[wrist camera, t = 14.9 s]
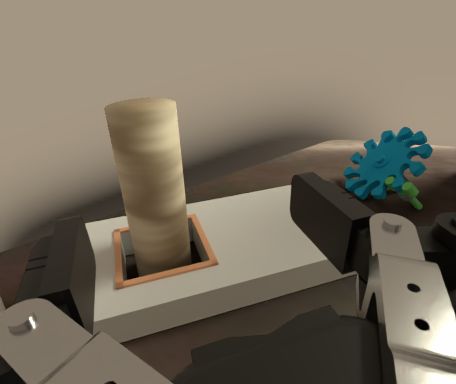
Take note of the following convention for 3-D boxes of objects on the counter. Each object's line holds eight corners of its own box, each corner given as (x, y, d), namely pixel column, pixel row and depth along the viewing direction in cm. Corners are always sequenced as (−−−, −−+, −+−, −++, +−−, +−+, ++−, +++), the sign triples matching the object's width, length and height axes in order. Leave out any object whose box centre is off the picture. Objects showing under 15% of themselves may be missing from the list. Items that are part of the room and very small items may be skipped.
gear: (332, 162, 43) (401, 111, 38) (356, 187, 45) (424, 141, 41) (357, 215, 34) (451, 156, 29) (387, 243, 36) (477, 193, 32)
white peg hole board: (318, 198, 37) (321, 177, 36) (396, 262, 27) (404, 236, 26) (82, 247, 30) (75, 223, 29) (70, 357, 20) (59, 328, 19)
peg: (186, 249, 30) (169, 95, 23) (197, 282, 26) (181, 109, 19) (137, 260, 28) (104, 101, 22) (141, 296, 25) (103, 117, 18)
